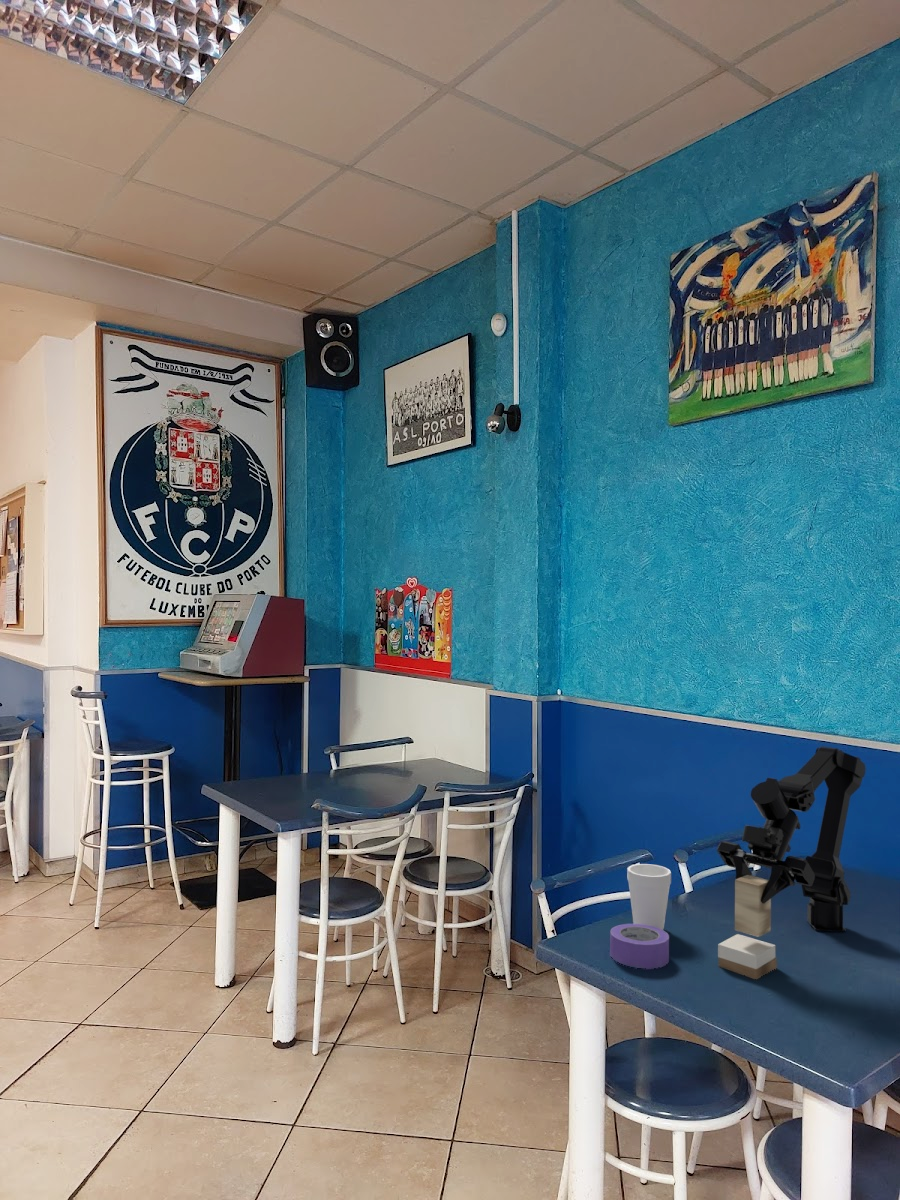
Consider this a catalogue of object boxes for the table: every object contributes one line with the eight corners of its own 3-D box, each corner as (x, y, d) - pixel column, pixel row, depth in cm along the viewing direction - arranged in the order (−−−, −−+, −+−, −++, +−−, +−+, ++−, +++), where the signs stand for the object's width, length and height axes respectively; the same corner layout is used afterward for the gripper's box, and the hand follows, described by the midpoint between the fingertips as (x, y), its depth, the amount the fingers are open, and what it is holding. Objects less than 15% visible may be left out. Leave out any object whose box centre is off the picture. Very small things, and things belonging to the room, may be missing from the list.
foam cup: (672, 924, 194) (672, 866, 194) (668, 939, 185) (669, 878, 185) (629, 919, 197) (630, 862, 197) (624, 933, 188) (624, 873, 188)
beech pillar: (747, 924, 175) (747, 874, 175) (770, 930, 171) (771, 880, 172) (734, 929, 172) (735, 879, 172) (758, 937, 168) (758, 885, 168)
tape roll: (631, 942, 184) (631, 918, 184) (680, 958, 176) (680, 933, 176) (598, 957, 176) (598, 932, 176) (648, 975, 167) (648, 949, 167)
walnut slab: (740, 958, 177) (740, 946, 177) (776, 971, 171) (776, 958, 171) (718, 969, 171) (718, 956, 171) (755, 982, 165) (755, 969, 165)
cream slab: (737, 946, 177) (737, 933, 177) (775, 957, 171) (775, 945, 171) (718, 957, 171) (718, 944, 171) (756, 969, 165) (756, 956, 165)
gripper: (721, 802, 181) (692, 864, 174) (808, 818, 168) (780, 887, 160) (740, 833, 187) (713, 895, 179) (826, 851, 173) (800, 920, 165)
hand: (749, 898), depth 171 cm, fingers closed on beech pillar, 5 cm apart
